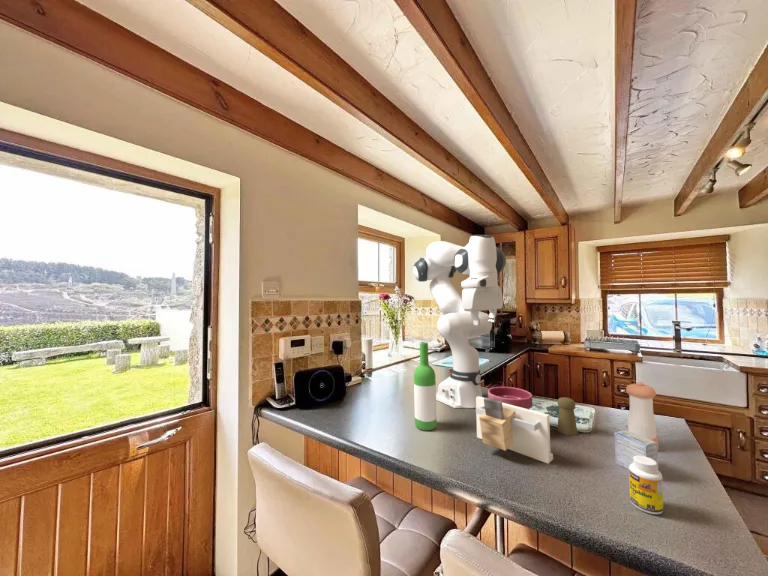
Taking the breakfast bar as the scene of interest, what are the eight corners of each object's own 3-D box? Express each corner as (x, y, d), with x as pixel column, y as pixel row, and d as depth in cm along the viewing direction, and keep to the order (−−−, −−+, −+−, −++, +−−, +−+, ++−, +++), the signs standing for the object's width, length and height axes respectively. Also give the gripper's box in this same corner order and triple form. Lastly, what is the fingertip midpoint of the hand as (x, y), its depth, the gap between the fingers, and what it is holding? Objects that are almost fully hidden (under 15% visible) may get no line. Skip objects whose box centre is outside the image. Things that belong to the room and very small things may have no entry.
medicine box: (659, 476, 78) (658, 442, 78) (647, 480, 76) (645, 445, 76) (627, 460, 85) (625, 429, 85) (615, 463, 84) (613, 431, 84)
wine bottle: (423, 420, 115) (422, 340, 115) (441, 426, 109) (439, 342, 110) (410, 427, 109) (408, 342, 110) (427, 433, 104) (425, 345, 104)
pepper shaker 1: (580, 435, 100) (579, 401, 100) (560, 434, 101) (559, 401, 101) (573, 427, 106) (572, 395, 106) (554, 426, 107) (553, 395, 107)
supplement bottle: (624, 502, 68) (622, 456, 69) (638, 495, 71) (637, 451, 71) (654, 519, 63) (653, 469, 63) (669, 511, 66) (667, 463, 66)
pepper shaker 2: (665, 450, 90) (662, 384, 90) (644, 453, 89) (641, 386, 89) (640, 438, 97) (638, 378, 97) (621, 441, 96) (618, 379, 96)
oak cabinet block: (482, 442, 91) (477, 401, 89) (496, 428, 96) (491, 389, 95) (505, 450, 86) (500, 407, 84) (518, 435, 91) (513, 394, 90)
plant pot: (517, 419, 114) (516, 384, 114) (542, 436, 100) (541, 397, 100) (481, 422, 112) (480, 387, 112) (502, 441, 98) (501, 400, 98)
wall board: (471, 440, 98) (469, 400, 98) (482, 433, 103) (481, 395, 103) (543, 469, 82) (541, 420, 82) (553, 459, 87) (551, 412, 87)
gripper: (490, 283, 111) (491, 320, 111) (458, 282, 98) (459, 325, 97) (507, 282, 107) (508, 321, 107) (475, 281, 93) (476, 327, 93)
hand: (484, 323), depth 102 cm, fingers open, 8 cm apart
